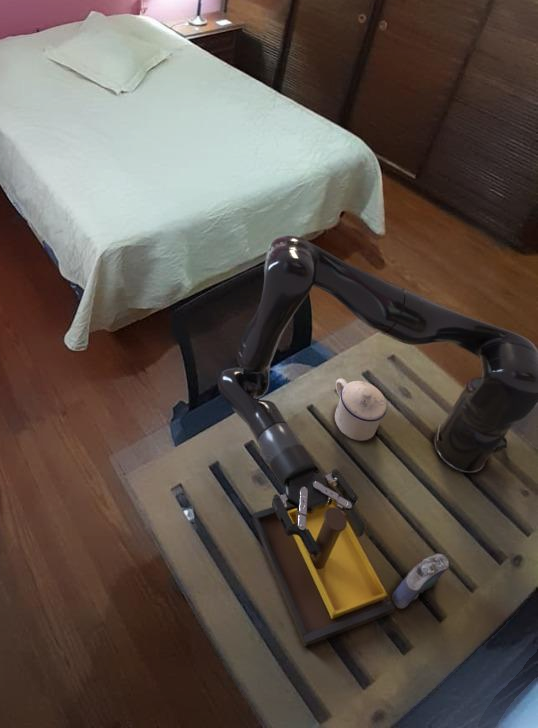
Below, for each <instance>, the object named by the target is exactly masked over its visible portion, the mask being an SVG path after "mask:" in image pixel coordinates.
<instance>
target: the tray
mask: <svg viewBox="0 0 538 728" xmlns="http://www.w3.org/2000/svg"><path fill="white" fill-rule="evenodd" d="M330 499H331V498H330ZM287 512H288V514H289V516H290V518H291V520H292V522H293V524H297V520H296V519H297V508H296V509H293V510H290V511H287ZM305 528H306V529H309V531H310V533H311V535H312V536H313V538H314V540H315V542H316V543H317V545H318V547H319V549H320V551H321V554H320V556H319V557H317V558H315V557H314V555H311V554H310V553H309V552H308V551H307V549H306V547H305V545H304V543H303V542H302V540H301V538H300V537H299V536H298V535H293V536H294V538H295V540H296V542H297V545H298V547H299V549H300V551H301V553H302V555H303V558H304V560H305V562H306V564H307V566H308V568H309V571H310V573H311V575H312V577H313V579H314V581H315V584H316V586H317V588H318V590H319V592H320V594H321V597H322V599H323V601H324V603H325V605H326V608H327V610H328V612H329V614H330V616H331V618H332V619H334V618H337V617H339V616H342V615H345V614H347V613H350V612H352V611H355V610H358V609H360V608H363V607H366V606H368V605H371V604H374V603H376V602H379V601H381V600H384V599H385V597H386V598H387V596H388V593H387V592H386V589H385V588H384V586H383V584H382V582H381V580H380V579H379V577H378V574H377V572H376V571H375V569H374V568H373V567H374V566H373V565H372V563H371V562H370V560H369V558H368V556H367V554H366V552H365V551H364V548H363V547H362V545H361V544H360V541H359V539H358V537H357V536H356V534H355V532H354V531H353V529H352V528H351V526H350V525H349V523H348V521H347V519H346V516H345V514H344V513H343V512H342V511H341V510H339V509H337V508H331V507H329V506H327V505H326V506H325V507H324V508H322V509H318V510H316V511H315V512H314V513H311V514H309V513H307V514H306V527H305Z"/></svg>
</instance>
